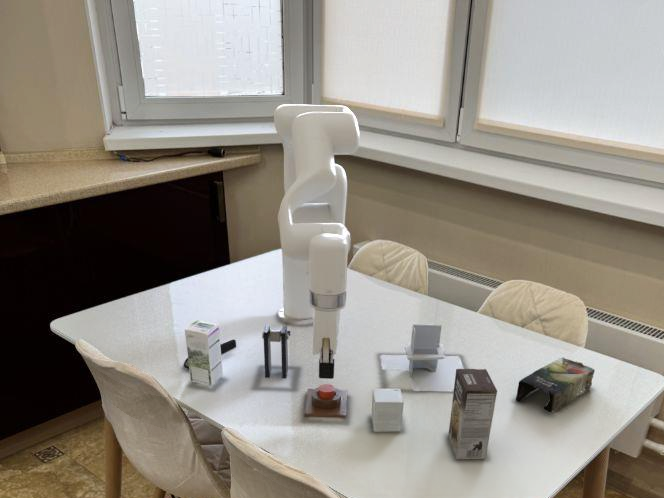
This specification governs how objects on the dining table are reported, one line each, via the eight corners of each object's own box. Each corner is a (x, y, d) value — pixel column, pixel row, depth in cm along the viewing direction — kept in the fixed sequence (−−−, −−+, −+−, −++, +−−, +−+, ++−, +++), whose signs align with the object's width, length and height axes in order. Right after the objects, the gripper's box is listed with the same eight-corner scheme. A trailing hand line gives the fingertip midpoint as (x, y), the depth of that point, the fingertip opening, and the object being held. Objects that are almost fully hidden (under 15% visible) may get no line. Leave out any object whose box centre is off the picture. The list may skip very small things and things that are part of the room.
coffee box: (446, 435, 147) (455, 367, 138) (476, 435, 147) (486, 367, 139) (455, 460, 139) (464, 390, 130) (486, 459, 140) (498, 390, 131)
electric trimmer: (240, 352, 177) (239, 340, 175) (192, 372, 166) (191, 360, 164) (230, 348, 179) (229, 336, 177) (182, 367, 168) (181, 355, 166)
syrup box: (224, 379, 164) (219, 322, 156) (211, 390, 159) (206, 333, 151) (203, 375, 165) (197, 318, 157) (190, 386, 160) (183, 328, 153)
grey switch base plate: (472, 391, 163) (478, 347, 157) (384, 390, 162) (387, 345, 156) (459, 356, 179) (464, 314, 173) (379, 354, 178) (382, 312, 172)
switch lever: (270, 337, 170) (270, 327, 169) (290, 338, 170) (290, 328, 170) (263, 341, 158) (263, 330, 158) (285, 342, 158) (285, 331, 158)
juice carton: (557, 373, 173) (562, 351, 169) (593, 388, 167) (599, 365, 164) (513, 401, 160) (517, 378, 157) (550, 418, 155) (555, 394, 151)
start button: (318, 390, 154) (318, 383, 153) (334, 391, 154) (335, 384, 153) (317, 398, 151) (317, 391, 150) (334, 399, 151) (334, 392, 150)
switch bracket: (260, 367, 170) (258, 318, 163) (297, 368, 170) (296, 320, 163) (254, 388, 161) (252, 338, 154) (293, 390, 161) (292, 339, 154)
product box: (370, 417, 152) (372, 387, 148) (398, 417, 152) (400, 387, 148) (373, 432, 147) (374, 402, 143) (401, 432, 147) (404, 402, 143)
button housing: (307, 396, 159) (307, 380, 156) (346, 397, 159) (347, 382, 157) (304, 421, 149) (304, 405, 147) (345, 422, 149) (346, 407, 147)
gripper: (311, 282, 146) (311, 360, 156) (306, 311, 134) (306, 393, 144) (347, 284, 146) (344, 361, 156) (345, 313, 134) (342, 394, 144)
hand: (326, 376), depth 150 cm, fingers closed
